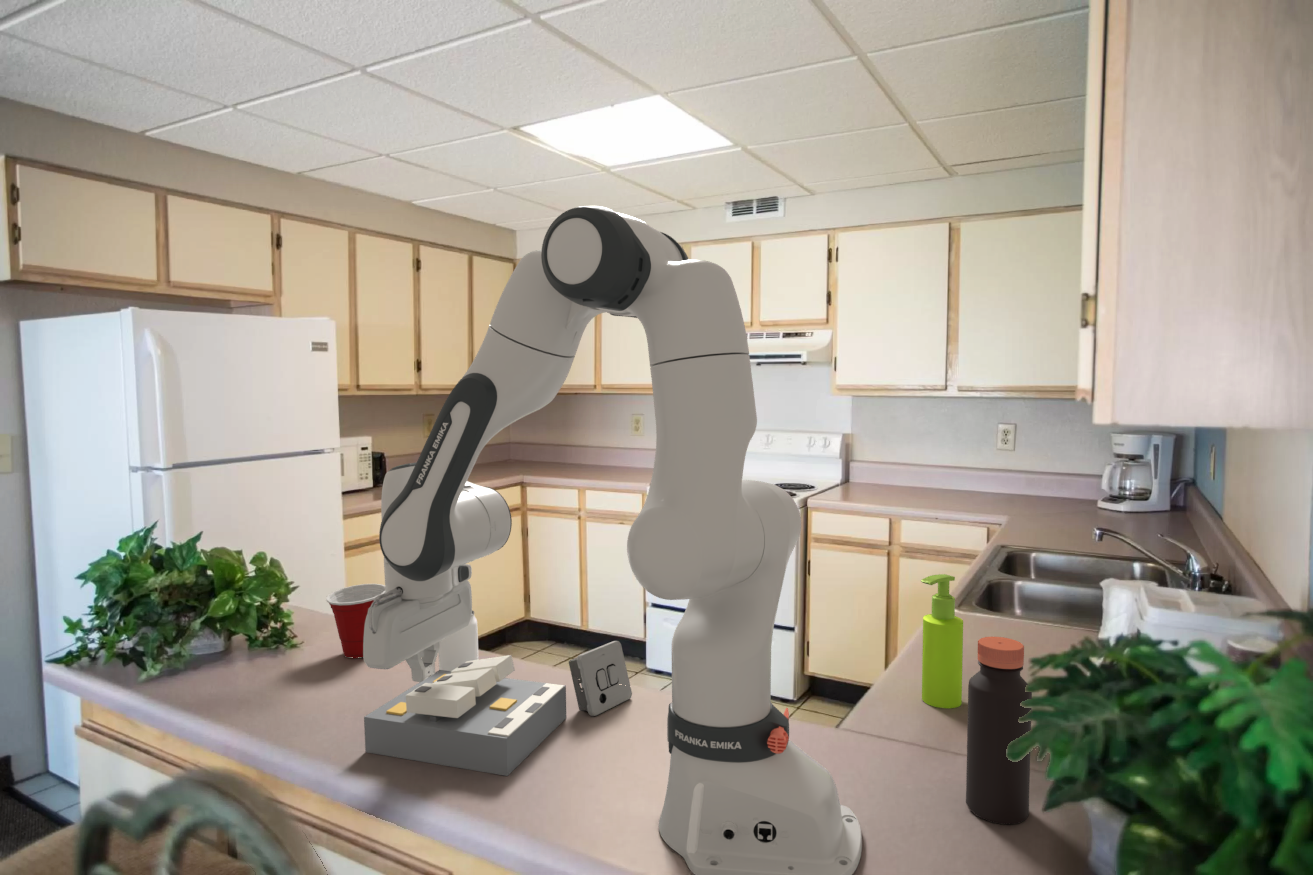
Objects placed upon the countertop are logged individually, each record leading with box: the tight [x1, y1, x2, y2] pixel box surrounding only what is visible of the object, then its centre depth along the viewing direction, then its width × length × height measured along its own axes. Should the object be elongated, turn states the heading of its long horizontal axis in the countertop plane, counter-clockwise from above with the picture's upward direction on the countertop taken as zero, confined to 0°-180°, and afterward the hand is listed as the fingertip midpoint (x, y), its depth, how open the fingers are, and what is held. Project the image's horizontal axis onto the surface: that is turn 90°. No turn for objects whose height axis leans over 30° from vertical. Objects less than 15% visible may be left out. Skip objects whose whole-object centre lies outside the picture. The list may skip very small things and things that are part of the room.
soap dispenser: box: [920, 573, 964, 710], centre depth 121 cm, size 6×7×20 cm
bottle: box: [965, 636, 1033, 825], centre depth 90 cm, size 7×7×20 cm
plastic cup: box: [325, 583, 385, 659], centre depth 145 cm, size 11×11×12 cm
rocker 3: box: [451, 654, 516, 682], centre depth 117 cm, size 8×4×2 cm, turn 72°
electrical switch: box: [568, 640, 633, 717], centre depth 122 cm, size 9×5×9 cm, turn 141°
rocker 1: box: [406, 683, 476, 718], centre depth 106 cm, size 8×4×2 cm, turn 72°
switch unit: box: [363, 669, 567, 777], centre depth 112 cm, size 22×18×6 cm
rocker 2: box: [433, 668, 496, 697], centre depth 112 cm, size 8×4×3 cm, turn 72°
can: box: [438, 609, 479, 671], centre depth 130 cm, size 6×6×12 cm
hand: (423, 677), depth 107 cm, fingers closed
